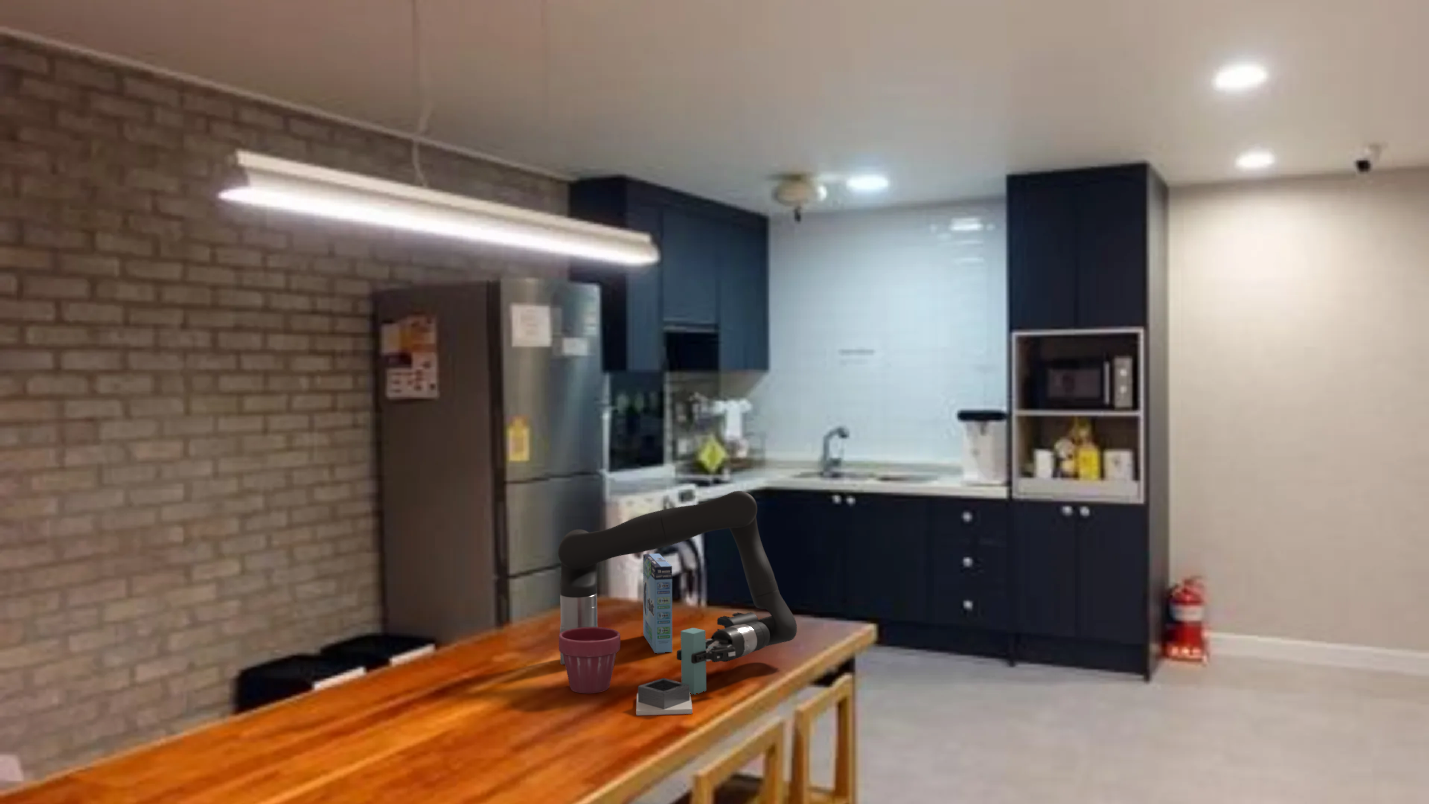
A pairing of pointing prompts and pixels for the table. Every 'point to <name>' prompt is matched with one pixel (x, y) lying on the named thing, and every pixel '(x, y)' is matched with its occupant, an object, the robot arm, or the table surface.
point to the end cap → (736, 619)
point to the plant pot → (589, 657)
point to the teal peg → (690, 672)
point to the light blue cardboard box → (657, 602)
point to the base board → (677, 709)
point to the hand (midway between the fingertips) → (685, 657)
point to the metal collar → (663, 693)
